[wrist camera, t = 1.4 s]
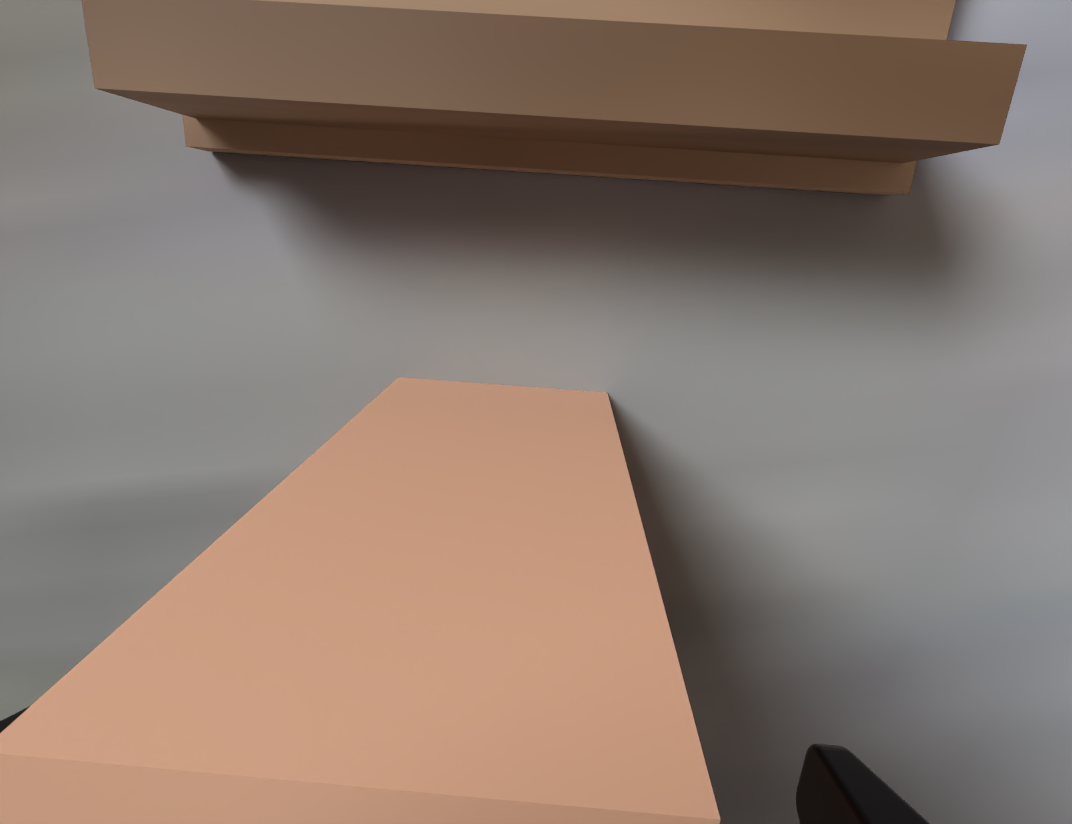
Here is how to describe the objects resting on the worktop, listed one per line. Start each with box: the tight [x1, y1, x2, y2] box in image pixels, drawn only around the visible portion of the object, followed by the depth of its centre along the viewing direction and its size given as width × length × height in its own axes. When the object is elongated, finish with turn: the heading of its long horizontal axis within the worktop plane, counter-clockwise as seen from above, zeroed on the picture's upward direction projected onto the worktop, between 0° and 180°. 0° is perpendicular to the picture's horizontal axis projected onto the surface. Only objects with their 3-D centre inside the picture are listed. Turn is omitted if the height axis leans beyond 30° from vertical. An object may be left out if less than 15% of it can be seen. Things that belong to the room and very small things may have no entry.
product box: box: [0, 377, 720, 824], centre depth 8 cm, size 7×4×8 cm, turn 176°
